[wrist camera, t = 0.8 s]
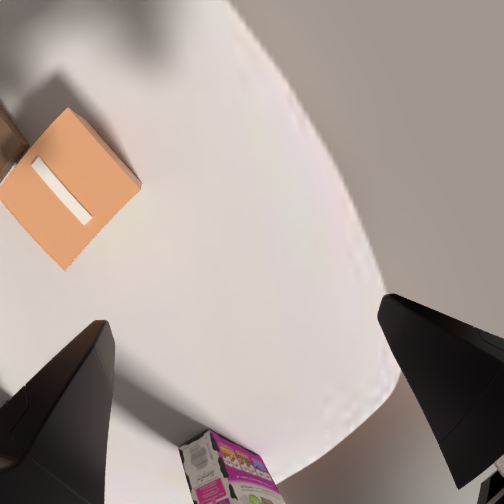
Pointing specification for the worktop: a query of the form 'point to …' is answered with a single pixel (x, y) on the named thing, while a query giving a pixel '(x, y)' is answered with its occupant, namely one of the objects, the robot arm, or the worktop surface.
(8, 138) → the base plate
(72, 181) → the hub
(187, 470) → the candy bar box
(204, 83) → the worktop surface
